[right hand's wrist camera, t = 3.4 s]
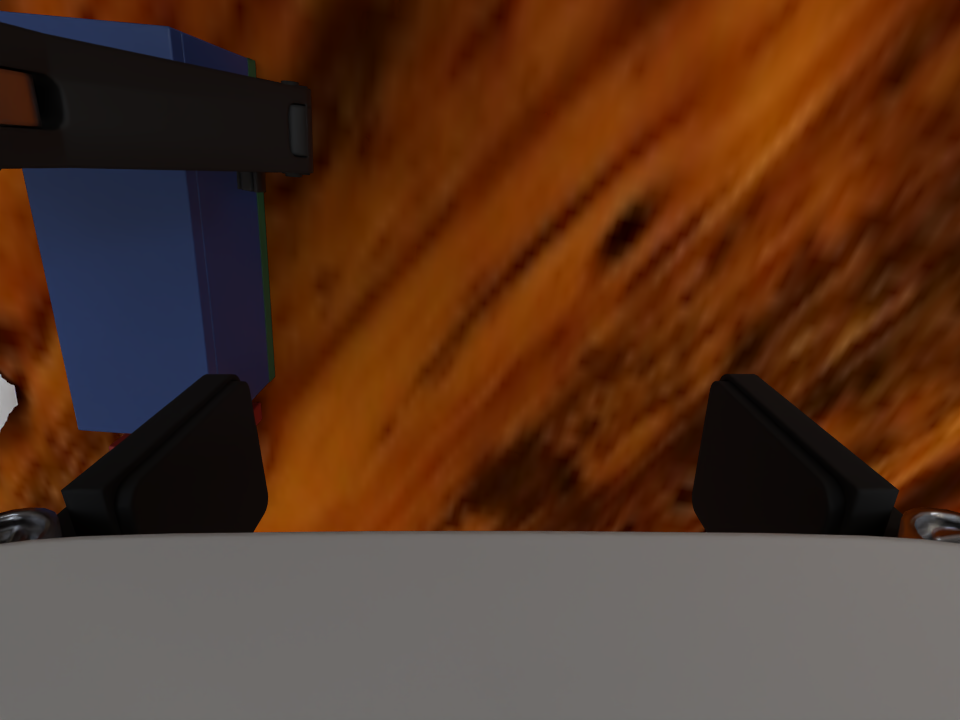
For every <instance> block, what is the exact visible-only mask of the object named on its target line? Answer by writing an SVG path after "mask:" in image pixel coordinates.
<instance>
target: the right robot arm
mask: <svg viewBox="0 0 960 720" xmlns="http://www.w3.org/2000/svg"><path fill="white" fill-rule="evenodd" d="M61 492H62V495H63V498H64V501H65V504H66V508H64V509H63V510H62V511H61V512H60V513H59V514H57V515H56V513H55V512H53V511H51V510H48V509H46V508H23V509H15V510H10V511H6V512H2V513H0V720H960V513H958V512H954V511H950V510H945V509H937V508H914V509H912V510H909V511H907V512H905V513H904V515H903V514H901V513H900V512H899V511H898V510H897V509H896V508H894V504H895V501H896V498H897V495H898V492H899V490H898V489H897V488H895V487H894V486H893V485H892V484H890V483H889V482H888V481H887V480H885V479H884V478H883V477H882V476H880V475H879V474H878V473H877V472H876V471H874V470H873V469H872V468H871V467H869V466H868V465H867V464H866V463H864V462H863V461H862V460H861V459H859V458H858V457H857V456H856V455H855V454H853V453H852V452H851V451H850V450H848V449H847V448H846V447H845V446H843V445H842V444H841V443H840V442H838V441H837V440H836V439H835V438H834V437H832V436H831V435H830V434H829V433H827V432H826V431H825V430H824V429H822V428H821V427H820V426H819V425H817V424H816V423H815V422H814V421H812V420H811V419H810V418H809V417H808V416H806V415H805V414H804V413H803V412H801V411H800V410H799V409H798V408H796V407H795V406H794V405H793V404H791V403H790V402H789V401H788V400H787V399H785V398H784V397H783V396H782V395H780V394H779V393H778V392H777V391H775V390H774V389H773V388H772V387H770V386H769V385H768V384H767V383H766V382H764V381H763V380H762V379H761V378H759V377H758V376H757V375H755V374H725V375H723V376H722V377H721V379H720V381H715V382H713V383H712V385H711V388H710V393H709V399H708V405H707V411H706V416H705V422H704V428H703V434H702V440H701V445H700V451H699V457H698V463H697V469H696V474H695V480H694V486H693V492H692V504H693V508H694V511H695V513H696V515H697V517H698V518H699V520H700V522H701V523H702V525H703V527H704V528H705V530H706V532H705V533H701V532H583V531H356V532H262V533H253V532H254V530H255V528H256V527H257V525H258V523H259V522H260V520H261V518H262V517H263V515H264V513H265V511H266V508H267V504H268V492H267V486H266V480H265V474H264V469H263V463H262V457H261V451H260V445H259V440H258V434H257V428H256V422H255V416H254V411H253V405H252V399H251V393H250V388H249V385H248V383H247V382H245V381H240V379H239V377H238V376H237V375H235V374H205V375H203V376H202V377H201V378H199V379H198V380H197V381H196V382H194V383H193V384H192V385H191V386H189V387H188V388H187V389H186V390H185V391H183V392H182V393H181V394H180V395H178V396H177V397H176V398H175V399H173V400H172V401H171V402H170V403H168V404H167V405H166V406H165V407H164V408H162V409H161V410H160V411H159V412H157V413H156V414H155V415H154V416H152V417H151V418H150V419H149V420H147V421H146V422H145V423H144V424H143V425H141V426H140V427H139V428H138V429H136V430H135V431H134V432H133V433H131V434H130V435H129V436H128V437H126V438H125V439H124V440H123V441H122V442H120V443H119V444H118V445H117V446H115V447H114V448H113V449H112V450H110V451H109V452H108V453H107V454H105V455H104V456H103V457H102V458H101V459H99V460H98V461H97V462H96V463H94V464H93V465H92V466H91V467H89V468H88V469H87V470H86V471H84V472H83V473H82V474H81V475H80V476H78V477H77V478H76V479H75V480H73V481H72V482H71V483H70V484H68V485H67V486H66V487H65V488H63V489H62V490H61Z"/></svg>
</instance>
